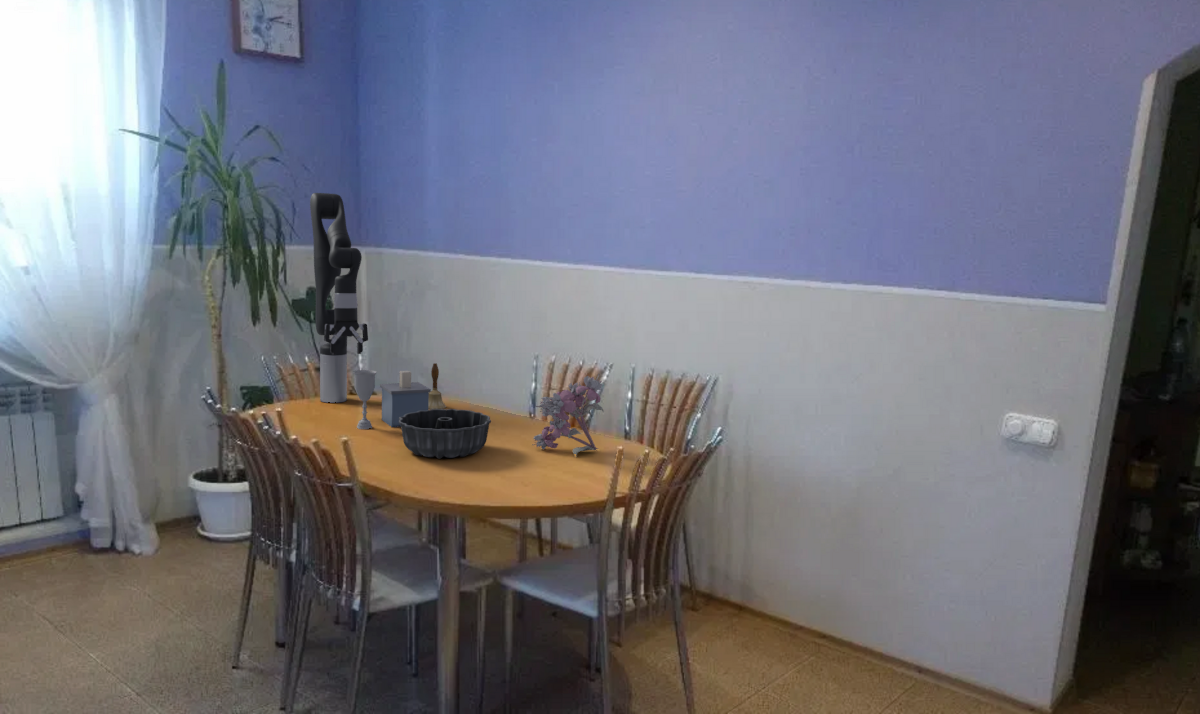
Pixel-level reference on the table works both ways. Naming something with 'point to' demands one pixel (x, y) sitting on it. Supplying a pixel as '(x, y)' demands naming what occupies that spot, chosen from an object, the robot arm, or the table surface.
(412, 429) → the bundt pan
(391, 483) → the table surface
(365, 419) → the chalice
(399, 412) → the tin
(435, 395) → the hand bell
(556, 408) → the flower
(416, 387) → the lid
